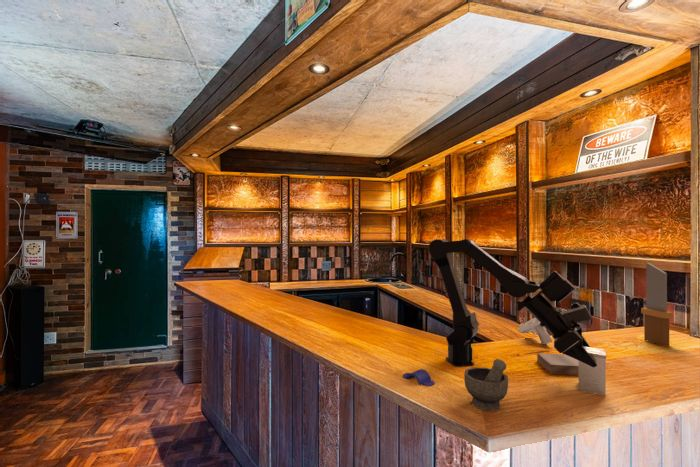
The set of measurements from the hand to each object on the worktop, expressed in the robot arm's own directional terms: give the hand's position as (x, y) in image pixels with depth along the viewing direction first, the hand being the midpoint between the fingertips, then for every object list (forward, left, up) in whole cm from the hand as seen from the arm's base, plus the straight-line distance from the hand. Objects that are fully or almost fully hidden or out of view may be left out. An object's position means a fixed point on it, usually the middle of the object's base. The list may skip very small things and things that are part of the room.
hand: (594, 360), depth 90 cm
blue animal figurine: (-43, +15, -8) cm, 46 cm away
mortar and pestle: (-33, -2, -8) cm, 33 cm away
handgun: (+18, +43, -8) cm, 47 cm away
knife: (+59, +30, -8) cm, 67 cm away
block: (+3, +15, -8) cm, 17 cm away
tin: (-1, +1, -7) cm, 7 cm away
